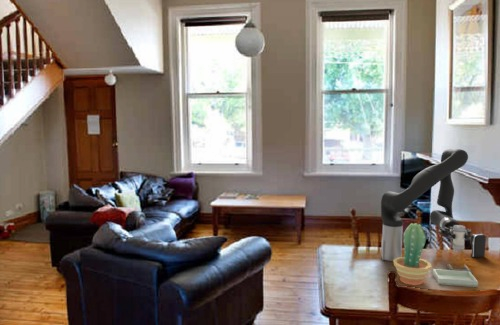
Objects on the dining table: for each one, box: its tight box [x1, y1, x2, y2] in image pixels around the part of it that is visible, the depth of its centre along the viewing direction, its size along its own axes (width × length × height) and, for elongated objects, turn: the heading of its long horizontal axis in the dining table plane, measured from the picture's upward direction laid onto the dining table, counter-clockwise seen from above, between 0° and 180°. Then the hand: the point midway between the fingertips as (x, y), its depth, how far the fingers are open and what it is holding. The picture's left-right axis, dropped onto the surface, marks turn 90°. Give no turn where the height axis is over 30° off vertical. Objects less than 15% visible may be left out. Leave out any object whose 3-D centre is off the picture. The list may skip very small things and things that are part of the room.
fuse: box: [452, 224, 466, 251], centre depth 179 cm, size 5×5×10 cm
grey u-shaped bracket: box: [447, 263, 473, 273], centre depth 185 cm, size 8×9×2 cm
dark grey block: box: [469, 233, 487, 259], centre depth 204 cm, size 7×4×11 cm, turn 107°
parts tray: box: [432, 268, 479, 288], centre depth 174 cm, size 15×11×2 cm
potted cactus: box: [392, 222, 432, 286], centre depth 173 cm, size 15×15×25 cm
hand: (460, 237), depth 176 cm, fingers closed on fuse, 4 cm apart
